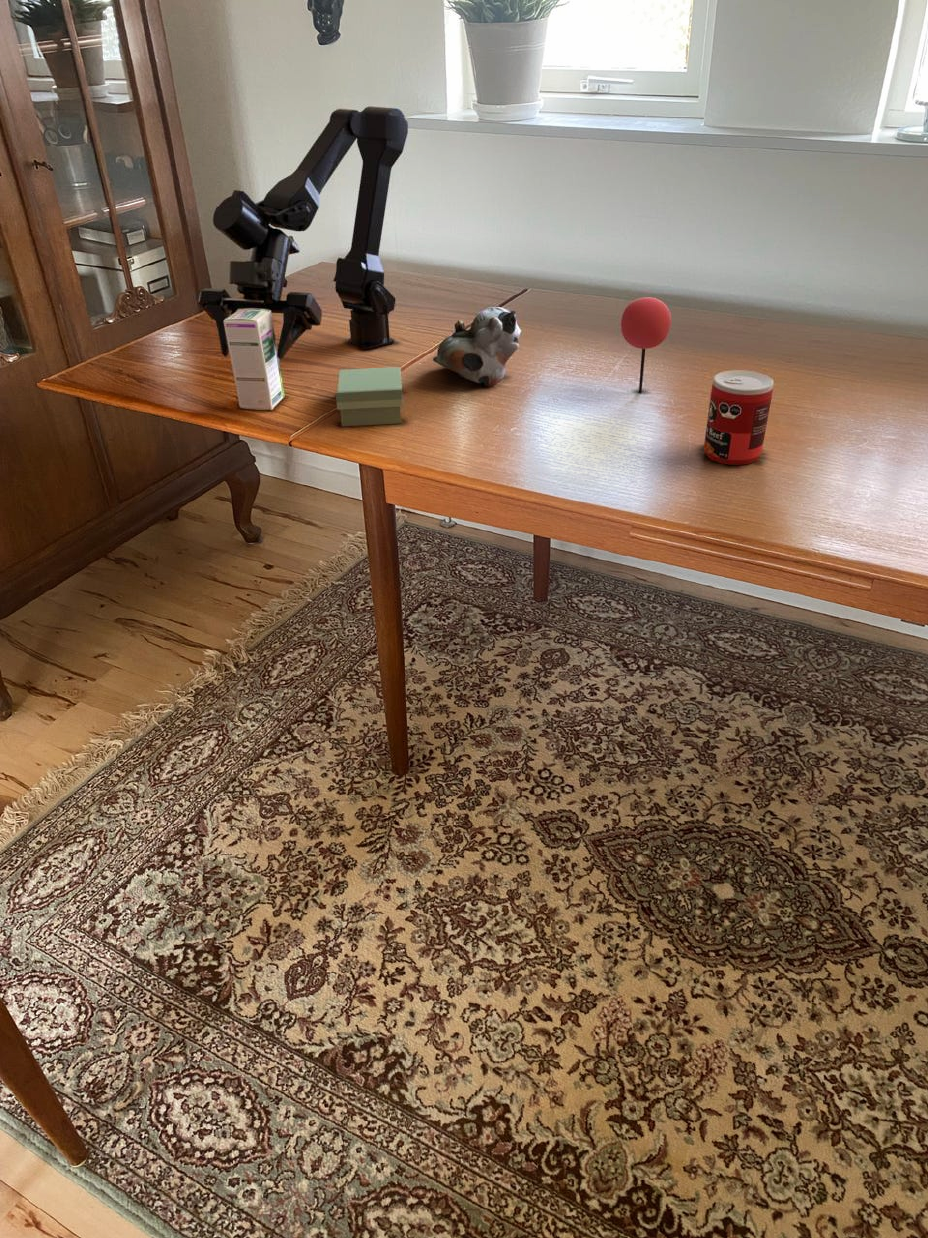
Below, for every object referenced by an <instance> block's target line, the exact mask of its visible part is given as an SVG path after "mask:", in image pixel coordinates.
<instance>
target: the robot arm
mask: <svg viewBox="0 0 928 1238" xmlns="http://www.w3.org/2000/svg"><path fill="white" fill-rule="evenodd" d="M408 133H409V122H408V120H407V118H406V116H405V114H404V113H403V111H402V110H401V109H400V108H397V107H396V108H395V107H383V106H370V105H369V106H366V107H365V108H364V109H362V111H359V110H357V109H348V108H337V109H336V110H333V111H332V112H331V113H330V116H329V121H328V122H327V124H326V125H325V127H324V128H323V129H322V131H321V133H320V134H319V135H318V137H317V139H316V140H315V141H314V142H313V144H312V146H311V147H310V149H309V150H308V152H307V153H306V154H305V156H304V157H303V159H302V161H301V162H300V163H299V165H298V166H297V167H296V169H295V170H294V171H293V172H292V173H291V174H290V175H288V176H286V177H284V178H282V179H281V180H279V181H277V182H276V184H275V185H273V186H272V188H271V189H270V190H269V191H268V192H267V193H266V194H265V196H264V197H263V199H262V200H260V201H258V202H254V201H253V200H252V199H251V197H250V196H249V195H248V194H247V193H246V192H245V191H244V190H238V189H234V190H233V192H232V194H231V195H230V196H229V197H226V198H225V199H224V200H223V201H221V203H220V204H219V205H217V206H216V208H215V210H214V212H213V215H212V223H213V226H214V227H215V229H216V230H218V231H219V232H220V233H221V234H223V235H224V236H225V237H227V238H228V239H229V240H230V241H232V243H234V244H235V245H236V246H238V247H239V248H240V249H242V250H243V251H248V250H251V254H250V259H249V260H245V261H237V260H232V261H229V284H230V285H236V286H237V288H236V291H237V292H238V293H239V294H241V295H243V298H240V297H239V298H237V297H232V296H231V295H230V294H229V292H228V291H227V289H225V288H211V287H209V288H208V287H205V288H203V289H202V290H201V291H200V292H199V296H198V302H197V304H198V305H199V306H200V308H202V310H203V311H204V312H205V313H206V314H207V315H208V317H209V318H210V319H211V320H213V321H215V324H216V327H217V333H218V337H219V338H218V339H219V344H220V350H221V354H222V356H223V357H228V355H229V354H230V353H229V348H228V343H227V337H226V332H225V327H224V322H223V321H224V320H225V319H227V318H228V317H229V316H231V315H232V314H234V313H235V312H236V311H237V310H238V309H246V308H258V309H267V310H271V314H282V318H283V319H282V321H283V323H282V327H281V332H280V336H279V341H278V345H277V357H278V359H279V361H280V360H283V358H284V357H285V356H286V355H287V353H288V352H289V350H290V349H291V348H292V347H293V345H294V344H295V343H296V342H297V341H298V339H300V337H301V336H302V335H303V334H304V333H305V332H306V331H310V330H312V328H313V327H315V326H320V325H321V324H322V318H323V317H322V316H323V312H322V311H323V310H322V308H321V306H320V305H319V303H318V302H317V300H316V298H315V297H314V295H313V294H312V293H311V292H300V291H299V292H298V291H289V292H288V293H287V294H286V299H284V300H283V299H282V295H283V290H284V288H287V287H288V280H287V279H286V273H287V268H288V262H289V256H290V255H294V254H295V255H296V254H299V253H300V247H299V245H298V244H297V242H296V241H295V239H294V236H293V235H288V234H286V233H285V232H284V231H283V230H287V231H291V232H292V231H293V232H305V231H307V230H308V229H309V228H310V226H311V225H312V223H313V221H314V219H315V216H316V215H317V212H318V211H319V208H320V195H321V193H322V190H323V189H324V187H325V186H326V184H327V183H328V182H329V180H330V179H331V177H332V176H333V175H334V173H335V171H336V170H337V169H338V167H339V165H340V164H341V162H342V161H343V159H344V158H345V156H346V155H347V153H348V152H349V150H350V149H351V148H352V146H353V144H354V143H355V142H356V145H357V149H358V151H359V154H360V157H361V160H362V167H361V174H360V179H359V188H358V194H357V200H356V201H357V202H356V209H355V216H354V225H353V231H352V236H351V237H352V238H351V243H350V244H351V245H350V249H349V251H348V252H347V254H346V256H345V257H344V258H343V257H338V258H337V260H336V262H335V264H336V266H335V274H334V278H333V280H332V281H333V282H335V286H334V288H335V293H336V294H337V296H338V297H339V299H340V301H341V304H342V306H343V309H345V310H349V312H350V319H349V320H348V324H349V336H350V338H348V342H349V343H351V344H352V345H355V346H357V347H359V348H361V349H362V350H368V351H369V350H371V349H376V348H379V347H383V346H387V345H388V346H389V345H392V344H395V339H393V338H392V337H390V324H389V323H390V321H389V315H390V314H391V312H392V311H394V310H395V308H396V307H395V306H396V300H397V299H396V297H395V296H394V295H393V294H392V293H391V291H389V289H388V288H386V286H385V272H384V271H385V270H384V268H383V265H382V262H381V259H380V255H379V254H380V247H381V240H382V233H383V227H384V220H385V213H386V207H387V199H388V193H389V187H390V180H391V172H392V168H393V167H394V165H395V164H396V163H397V162H398V160H399V158H400V157H401V155H402V154H403V152H404V148H405V145H406V141H407V137H408Z"/></svg>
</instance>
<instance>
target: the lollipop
mask: <svg viewBox="0 0 928 1238" xmlns="http://www.w3.org/2000/svg"><path fill="white" fill-rule="evenodd" d="M671 316H672V315H671V312H670V310H669V308H668V306H667V305H666V304H665V302H663V301H662V300H660V299H658V298H655V297H651V296H645V297H638V298H636V299H634V300H632V301H631V302H630V303H628V305H626V307H625V309H624V310H623V312H622V316H621V319H620V330H621V335H622V336H623V338H624V340H625V341H626V343H627V344H629V345H630V346H632V347H633V348H636V349H641V355H640V356H641V357H640V371H639V383H638V391H637V392H638V393H643V382H644V371H645V358H646V350H647V349H654V348H656V347H658V346H660V345H661V344H662V343H663V342H664V341H665V340H666V338H667V337H668V334H669V333H670V330H671V326H672V317H671Z"/></svg>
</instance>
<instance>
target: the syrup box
mask: <svg viewBox="0 0 928 1238" xmlns="http://www.w3.org/2000/svg"><path fill="white" fill-rule="evenodd" d="M272 314H273V313H271V310H267V309H258V308H246V309H238V310H237V311H236V312H235V313H234V314H232V315H231V316H229V317H228V318H227V319H225V320H224V321H223V322H224V327H225V332H226V337H227V343H228V348H229V353H228V354H229V359H230V364H231V369H232V375H233V379H234V385H235V390H236V395H237V401H238V405H239V408H240V409H247V410H257V411H258V410H259V411H261V410H262V411H273V409H274V408H275V407H276V406H277V405H278V404H279V403H280V402H281V401H282V400H283V399H284V398H285V389H284V384H283V378H282V377H283V376H282V371H281V365H280V360H279V359H278V357H277V351H278V345H277V340H276V334H275V328H274V322H273V321H274V320H273V315H272Z"/></svg>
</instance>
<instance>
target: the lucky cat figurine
mask: <svg viewBox="0 0 928 1238" xmlns="http://www.w3.org/2000/svg"><path fill="white" fill-rule="evenodd" d="M465 325H466V324H465V322H464V321H462V320H460V319H458V320H457V321H456V323H454V332H453V333H451V335H449V336H446V337H445V338H443V340H441V342H440V344H439V345H438V348H437V352H436V356H434V357H432V361H434V363H436V364H437V365H439V366H442V367H443V368H446V369H448V370H451V371H453V372H455V373H457V374H458V375H459V376H461V377H463V378H464V379H466V380H468V381H471V382H473V383H475V384H479V385H480V384H482V383H483V385H484V386H485V387H489V388H490V387H492V386H493V385H496V384H497V383H499V381H502V380H503V378H504V376H505V374H506V364H507V362H508V361H509V360H510V358H511V357H512V356H513V355H514V353H515V352H516V351H517V350H518V349H519V347H520V343H519V341H520V340H519V338H520V336H521V333H522V329H521V328H520V327H519V325H518V320H517V310H510V311H509V309H507V308H504V307H501V306H489V307H487V308H484V309H483V310H481V311H479V312H478V313H477V314H476V316H475V317H474V319H473V321H472V322H471V325H470V328H469V329H467V328H466V326H465Z"/></svg>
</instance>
